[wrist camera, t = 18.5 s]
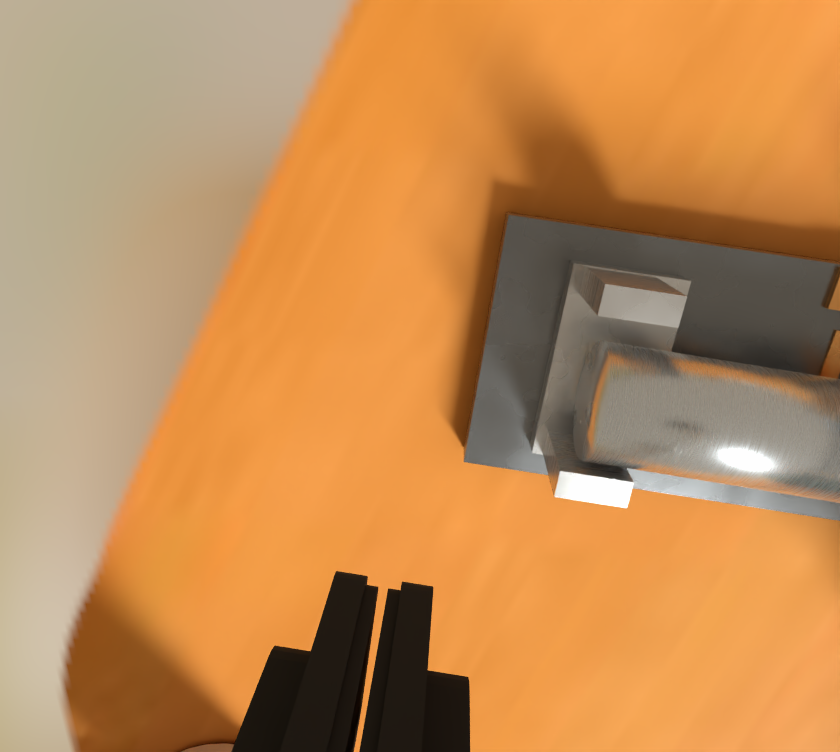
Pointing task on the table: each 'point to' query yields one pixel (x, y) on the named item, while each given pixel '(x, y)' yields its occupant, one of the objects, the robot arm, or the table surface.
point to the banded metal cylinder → (709, 420)
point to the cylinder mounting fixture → (635, 341)
